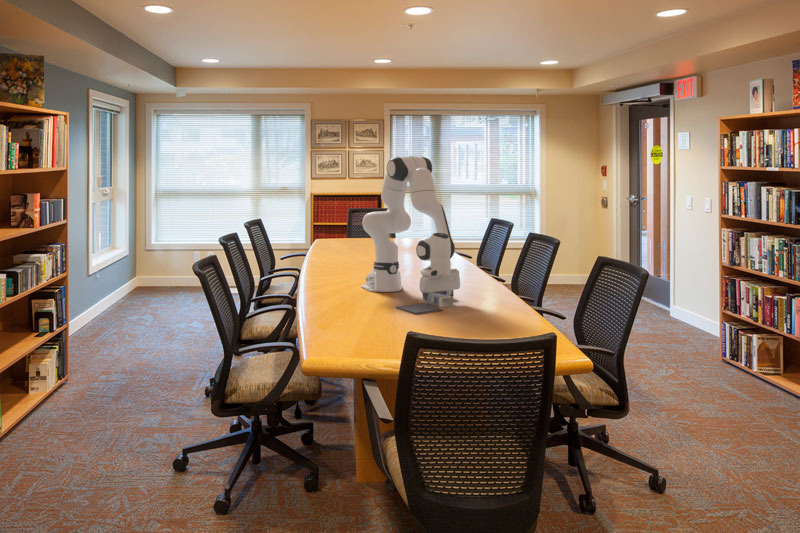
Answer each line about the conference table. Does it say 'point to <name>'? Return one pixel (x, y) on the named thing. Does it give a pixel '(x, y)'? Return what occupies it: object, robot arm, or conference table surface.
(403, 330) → the conference table surface
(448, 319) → the conference table surface
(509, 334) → the conference table surface
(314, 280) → the conference table surface
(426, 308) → the mat
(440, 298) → the block
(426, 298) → the stone
